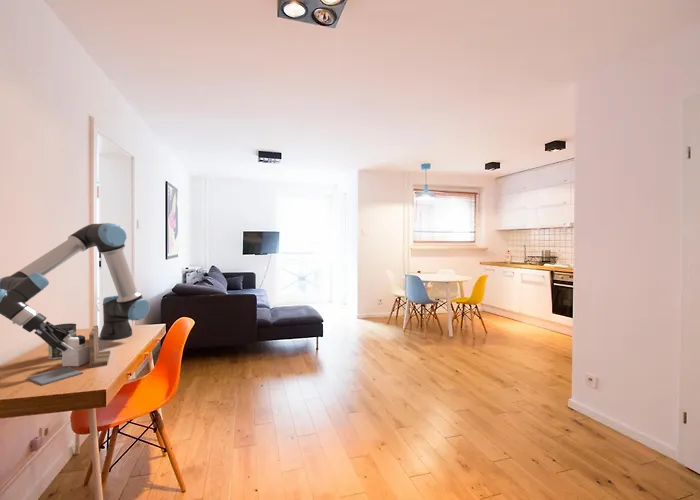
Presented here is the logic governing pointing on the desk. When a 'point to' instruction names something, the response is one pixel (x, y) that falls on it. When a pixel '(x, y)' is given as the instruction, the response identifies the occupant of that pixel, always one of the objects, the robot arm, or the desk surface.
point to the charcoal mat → (54, 375)
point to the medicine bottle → (81, 354)
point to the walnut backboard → (97, 350)
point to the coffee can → (56, 352)
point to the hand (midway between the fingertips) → (76, 349)
